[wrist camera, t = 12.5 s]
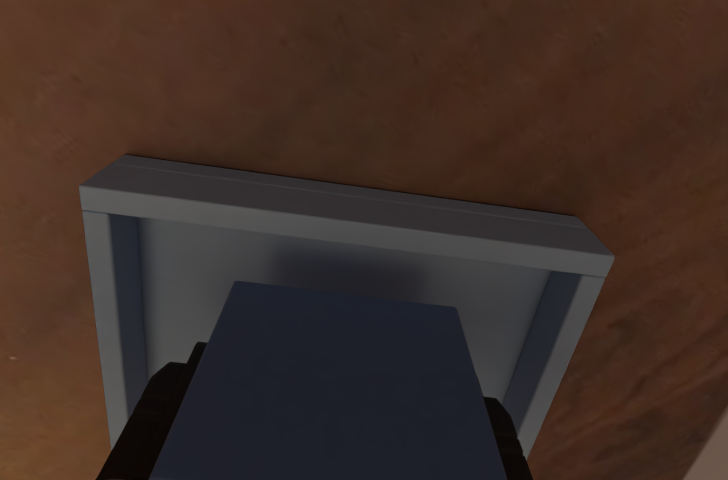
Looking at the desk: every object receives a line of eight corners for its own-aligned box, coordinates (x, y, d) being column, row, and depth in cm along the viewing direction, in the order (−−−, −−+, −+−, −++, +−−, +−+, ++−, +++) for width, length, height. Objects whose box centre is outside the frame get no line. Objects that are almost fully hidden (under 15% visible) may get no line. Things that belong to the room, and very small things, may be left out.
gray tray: (122, 153, 13) (77, 185, 11) (578, 215, 14) (616, 256, 12) (149, 505, 19) (124, 567, 17) (457, 532, 20) (469, 594, 18)
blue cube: (234, 278, 11) (146, 481, 6) (457, 305, 11) (520, 515, 7) (228, 439, 13) (160, 672, 9) (414, 457, 13) (441, 690, 9)
